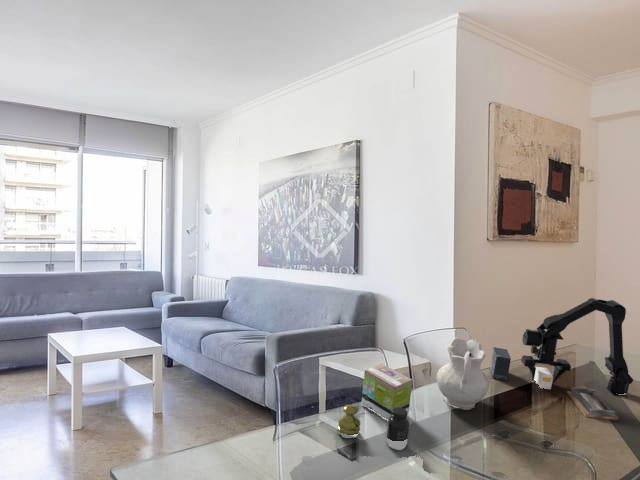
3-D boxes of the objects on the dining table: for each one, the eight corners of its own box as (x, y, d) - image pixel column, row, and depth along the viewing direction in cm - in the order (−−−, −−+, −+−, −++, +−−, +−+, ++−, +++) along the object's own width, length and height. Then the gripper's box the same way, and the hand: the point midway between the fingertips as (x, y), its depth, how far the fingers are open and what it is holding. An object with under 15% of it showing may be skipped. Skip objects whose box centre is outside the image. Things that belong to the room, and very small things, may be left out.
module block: (544, 380, 215) (546, 367, 214) (550, 389, 207) (553, 376, 206) (533, 379, 215) (535, 366, 214) (539, 388, 207) (542, 375, 206)
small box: (508, 381, 212) (511, 358, 210) (492, 378, 213) (495, 356, 211) (504, 370, 222) (507, 348, 220) (489, 368, 223) (492, 346, 221)
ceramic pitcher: (492, 424, 179) (507, 360, 175) (439, 416, 179) (453, 352, 174) (475, 394, 200) (488, 337, 196) (427, 387, 200) (439, 330, 195)
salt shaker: (332, 432, 165) (335, 405, 163) (347, 424, 170) (349, 397, 168) (349, 442, 160) (352, 414, 158) (363, 433, 165) (366, 406, 163)
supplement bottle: (408, 441, 163) (412, 408, 160) (404, 453, 156) (409, 419, 154) (388, 436, 165) (391, 403, 163) (383, 447, 159) (387, 413, 156)
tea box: (360, 406, 183) (363, 369, 180) (378, 398, 189) (382, 362, 186) (391, 425, 172) (395, 386, 169) (409, 416, 178) (413, 378, 175)
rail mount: (596, 396, 204) (598, 389, 203) (618, 420, 186) (619, 413, 186) (566, 393, 205) (568, 386, 204) (585, 416, 187) (586, 409, 187)
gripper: (563, 342, 215) (558, 375, 218) (520, 337, 217) (514, 370, 220) (574, 352, 204) (567, 387, 207) (528, 347, 206) (522, 382, 209)
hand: (542, 381), depth 211 cm, fingers open, 8 cm apart
